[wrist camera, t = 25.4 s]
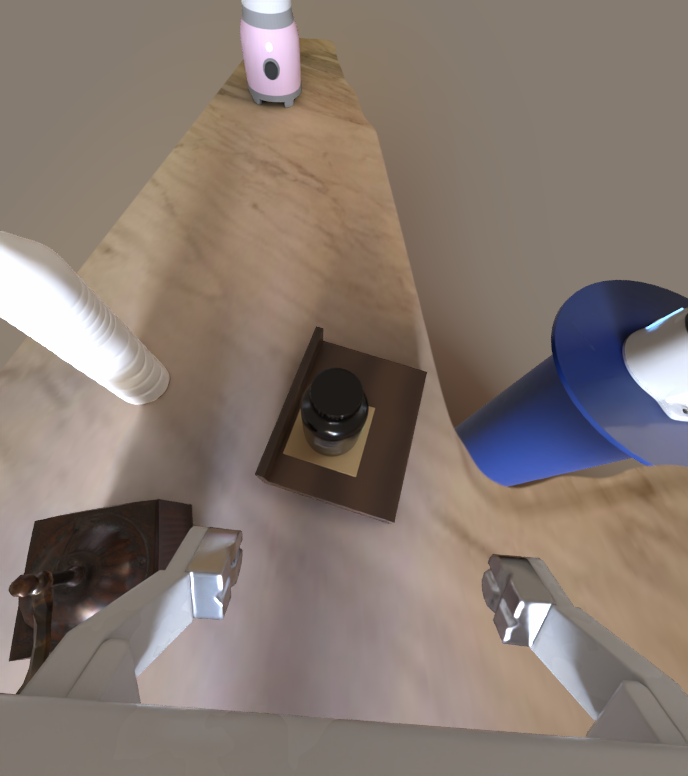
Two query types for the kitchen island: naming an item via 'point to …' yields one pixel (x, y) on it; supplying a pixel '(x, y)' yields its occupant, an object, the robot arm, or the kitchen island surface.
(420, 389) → the shelf
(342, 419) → the supplement bottle
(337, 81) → the kitchen island surface
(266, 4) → the blender
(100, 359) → the water bottle
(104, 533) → the coffee grinder
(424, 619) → the kitchen island surface
